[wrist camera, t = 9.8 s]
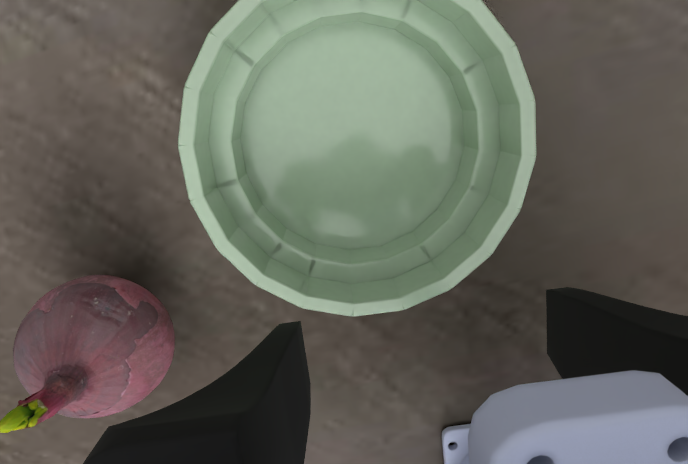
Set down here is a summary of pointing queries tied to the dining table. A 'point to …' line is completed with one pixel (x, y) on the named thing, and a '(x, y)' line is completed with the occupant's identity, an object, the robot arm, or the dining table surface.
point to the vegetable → (90, 350)
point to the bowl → (357, 146)
